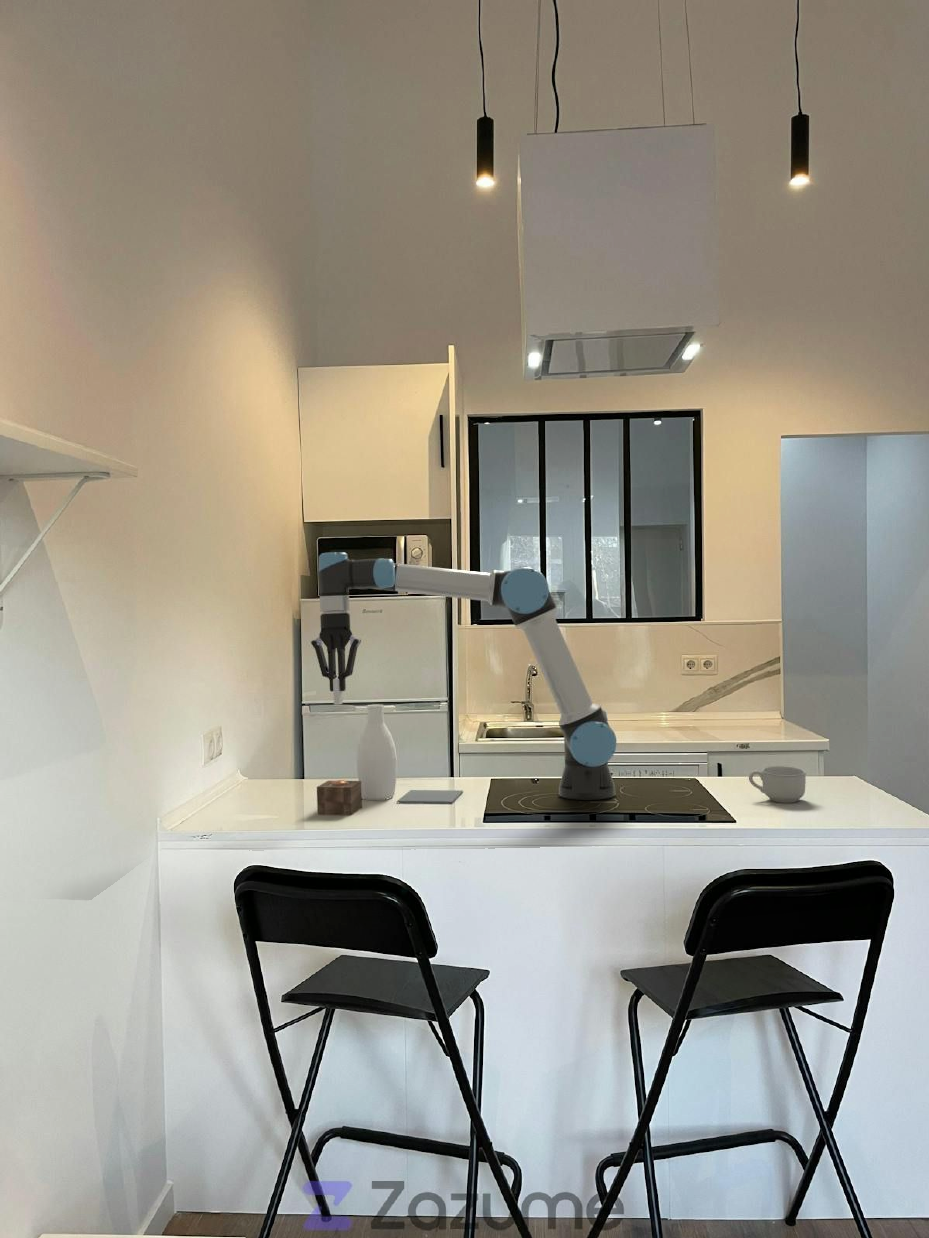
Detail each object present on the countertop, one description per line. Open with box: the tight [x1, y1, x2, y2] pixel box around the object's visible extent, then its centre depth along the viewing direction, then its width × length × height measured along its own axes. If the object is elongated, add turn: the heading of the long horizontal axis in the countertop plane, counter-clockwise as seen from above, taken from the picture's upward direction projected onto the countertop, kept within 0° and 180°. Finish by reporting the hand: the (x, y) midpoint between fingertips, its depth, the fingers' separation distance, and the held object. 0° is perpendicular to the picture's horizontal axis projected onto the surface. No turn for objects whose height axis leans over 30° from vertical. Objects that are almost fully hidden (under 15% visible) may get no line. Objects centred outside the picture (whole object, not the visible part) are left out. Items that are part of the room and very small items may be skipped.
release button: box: [328, 779, 350, 786], centre depth 247 cm, size 4×4×6 cm
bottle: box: [356, 703, 398, 801], centre depth 264 cm, size 11×11×25 cm
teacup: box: [748, 765, 807, 804], centre depth 246 cm, size 14×11×8 cm
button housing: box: [316, 780, 363, 816], centre depth 247 cm, size 9×9×7 cm
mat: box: [396, 789, 464, 805], centre depth 261 cm, size 15×15×1 cm
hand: (338, 703), depth 247 cm, fingers closed
